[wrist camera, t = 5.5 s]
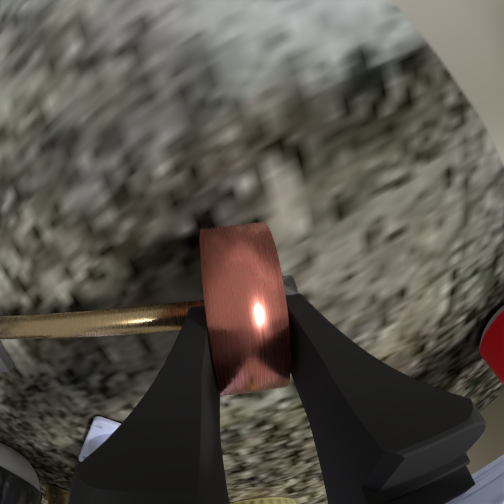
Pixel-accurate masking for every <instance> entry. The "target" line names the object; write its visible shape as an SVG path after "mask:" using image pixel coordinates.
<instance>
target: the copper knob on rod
mask: <svg viewBox="0 0 504 504" xmlns="http://www.w3.org/2000/svg"><path fill="white" fill-rule="evenodd" d="M200 259H201V273H202V284H203V294H204V300H198V301H189V302H180V303H170V304H160V305H150V306H140V307H129V308H118V309H106V310H94V311H81V312H67V313H53V314H36V315H18V316H0V339H49V338H78V337H98V336H115V335H129V334H143V333H155V332H166V331H177V330H181V328H182V326H183V323H184V321H185V318H186V315H187V311H188V310H189V309H190V308H191V307H198V306H205V311H206V319H207V326H208V333H209V340H210V346H211V352H212V358H213V363H214V369H215V373H216V378H217V382H218V386H219V390H220V393H221V395H222V396H224V395H232V394H240V393H248V392H255V391H262V390H269V389H275V388H281V387H286V386H287V385H288V383H289V379H290V372H291V343H290V329H289V318H288V310H287V302H286V295H293V294H298V291H297V287H296V284H295V281H294V279H293V277H292V276H291V275H288V276H282V273H281V268H280V263H279V259H278V255H277V251H276V247H275V244H274V240H273V237H272V235H271V232H270V230H269V228H268V226H267V224H266V223H264V222H261V223H251V224H242V225H233V226H225V227H216V228H207V229H201V230H200Z"/></svg>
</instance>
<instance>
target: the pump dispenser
mask: <svg viewBox="0 0 504 504" xmlns="http://www.w3.org/2000/svg"><path fill="white" fill-rule="evenodd" d="M41 500H42V494H41V492H40V485H39V480H38V477H37V474H36V472H35V470H34V468H33V467H32V465H31V464H30V463H29V462H28V461H27V460H26V459H25V458H24V457H23V456H22V455H21V454H20V453H18V452H17V451H15V450H14V449H12V448H11V447H9V446H7V445H5V444H3V443H0V504H41Z"/></svg>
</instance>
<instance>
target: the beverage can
mask: <svg viewBox="0 0 504 504" xmlns="http://www.w3.org/2000/svg"><path fill="white" fill-rule="evenodd" d="M479 353H480V355H481V356H482V357H483V359H484V360H485V361H486V363H487V364H488V365H489V366H490V368H491V369H492V370H493V371H494V373H495V374H496V375H497V377H498V378H499V379H500V381H501V382H502V383H503V385H504V306H502V307H501V308H500V309H499V310H498V311H497V312H496V313H495V314H494V315H493V317H492V318H491V319H490V321H489V322H488V323H487V325H486V327H485V329H484V331H483V333H482V337H481V341H480V346H479Z"/></svg>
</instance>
